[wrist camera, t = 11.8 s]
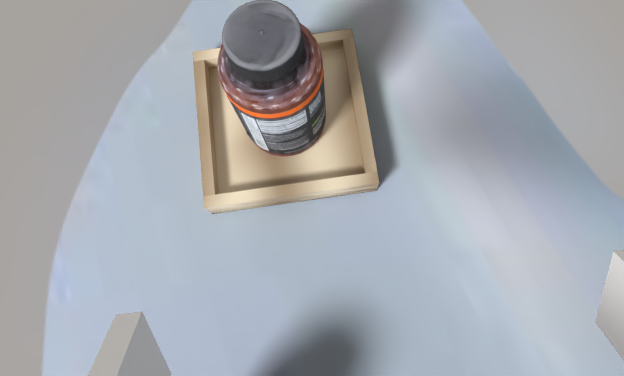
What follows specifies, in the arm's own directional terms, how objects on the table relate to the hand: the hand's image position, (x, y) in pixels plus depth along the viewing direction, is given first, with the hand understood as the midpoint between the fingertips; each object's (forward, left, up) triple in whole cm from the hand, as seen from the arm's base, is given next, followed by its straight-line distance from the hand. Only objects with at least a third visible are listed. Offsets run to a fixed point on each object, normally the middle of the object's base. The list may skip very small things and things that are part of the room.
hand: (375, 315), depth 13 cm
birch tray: (+3, -14, -18) cm, 23 cm away
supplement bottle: (+3, -14, -17) cm, 22 cm away
